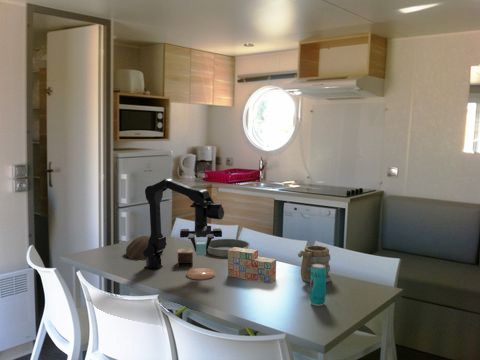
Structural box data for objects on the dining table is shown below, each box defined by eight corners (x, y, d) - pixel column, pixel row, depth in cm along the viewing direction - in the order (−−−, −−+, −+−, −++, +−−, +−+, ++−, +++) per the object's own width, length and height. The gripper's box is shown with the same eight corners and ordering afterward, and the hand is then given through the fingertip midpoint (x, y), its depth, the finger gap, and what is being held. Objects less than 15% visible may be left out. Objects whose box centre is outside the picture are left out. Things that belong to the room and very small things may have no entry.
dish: (181, 276, 210) (181, 273, 210) (197, 269, 222) (197, 266, 222) (205, 281, 204) (205, 278, 204) (220, 273, 215) (220, 270, 215)
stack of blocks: (276, 279, 208) (276, 252, 207) (270, 283, 202) (270, 255, 201) (234, 272, 218) (234, 246, 217) (227, 276, 212) (227, 249, 211)
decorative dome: (150, 247, 262) (150, 230, 261) (169, 255, 247) (169, 236, 246) (118, 253, 249) (118, 235, 248) (137, 261, 234) (136, 242, 233)
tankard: (313, 272, 218) (313, 241, 216) (336, 279, 209) (337, 246, 207) (285, 282, 204) (285, 248, 202) (308, 289, 195) (309, 254, 193)
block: (196, 255, 209) (196, 244, 209) (196, 252, 214) (196, 241, 213) (206, 255, 210) (206, 244, 209) (205, 252, 214) (205, 241, 214)
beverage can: (308, 301, 181) (309, 263, 180) (322, 300, 182) (324, 263, 180) (311, 306, 176) (312, 267, 174) (326, 306, 176) (328, 267, 175)
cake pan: (250, 258, 242) (250, 249, 242) (202, 257, 243) (202, 249, 242) (249, 246, 267) (250, 238, 266) (206, 245, 267) (206, 238, 267)
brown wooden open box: (177, 266, 225) (177, 252, 225) (178, 262, 232) (177, 248, 232) (192, 266, 226) (192, 252, 225) (192, 262, 233) (192, 248, 232)
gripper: (179, 221, 201) (179, 256, 203) (223, 220, 203) (222, 256, 205) (180, 216, 212) (180, 250, 214) (221, 216, 214) (221, 249, 216)
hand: (201, 251), depth 212 cm, fingers closed on block, 4 cm apart
